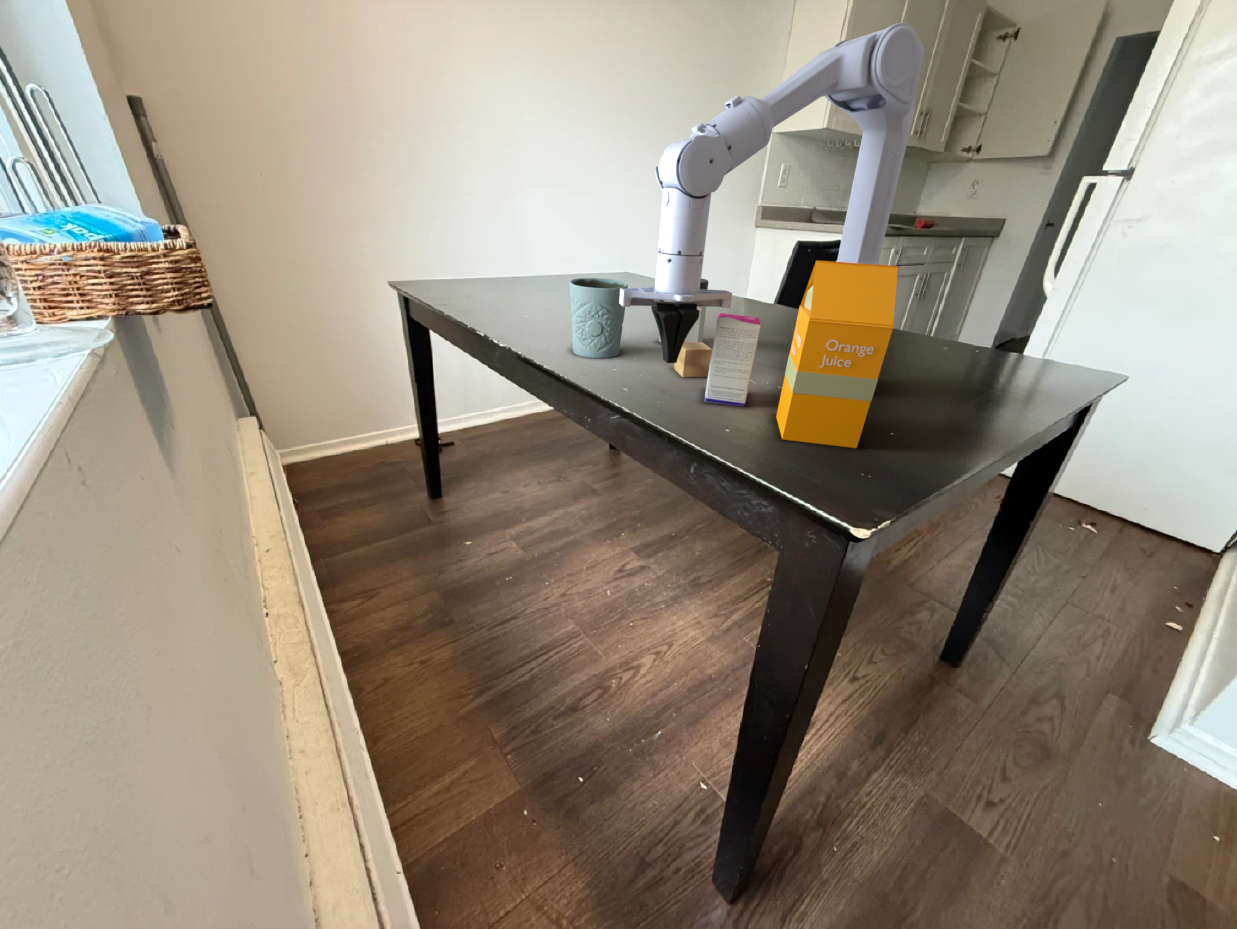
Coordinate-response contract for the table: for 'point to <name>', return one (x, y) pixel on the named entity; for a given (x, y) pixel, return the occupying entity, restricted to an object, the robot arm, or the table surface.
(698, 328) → the jar
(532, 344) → the table surface
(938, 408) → the table surface
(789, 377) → the orange juice
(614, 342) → the drinking glass
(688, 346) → the maple block
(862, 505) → the table surface
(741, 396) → the supplement box
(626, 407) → the table surface
